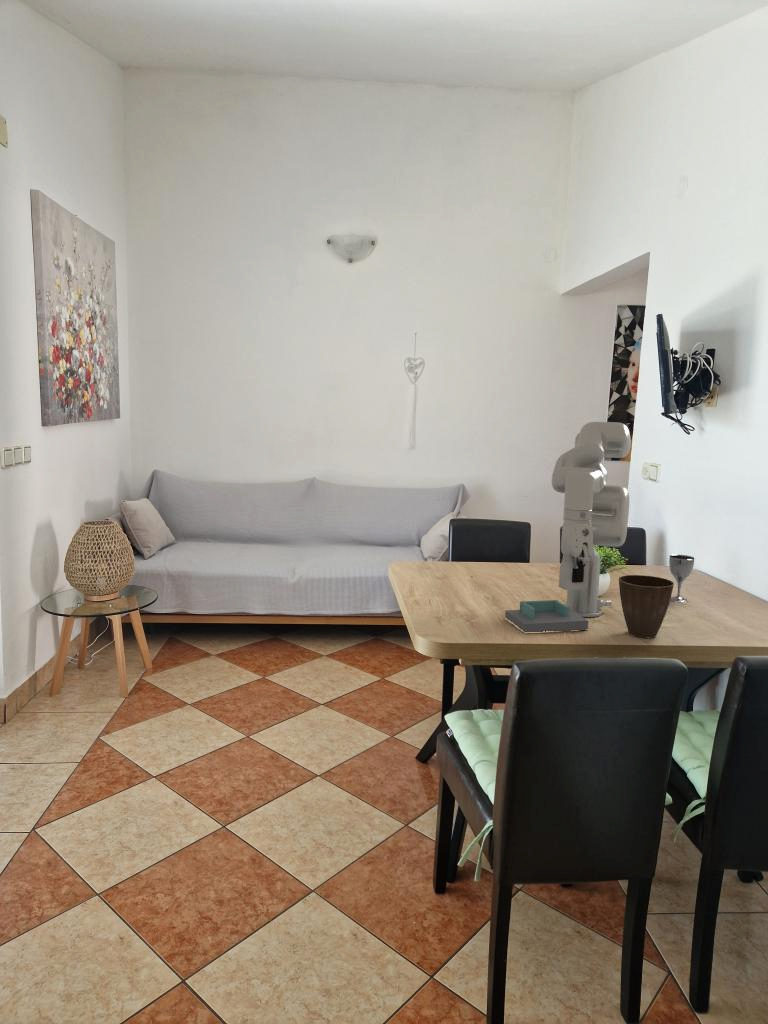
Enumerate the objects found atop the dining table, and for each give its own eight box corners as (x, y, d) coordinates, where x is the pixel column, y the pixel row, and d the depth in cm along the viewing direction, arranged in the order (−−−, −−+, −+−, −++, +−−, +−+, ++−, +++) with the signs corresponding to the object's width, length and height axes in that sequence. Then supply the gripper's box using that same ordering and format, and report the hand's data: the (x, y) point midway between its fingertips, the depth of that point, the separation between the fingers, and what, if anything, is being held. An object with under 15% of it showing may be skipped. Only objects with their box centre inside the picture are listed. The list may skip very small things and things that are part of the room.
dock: (564, 616, 226) (565, 598, 225) (587, 630, 213) (589, 610, 212) (505, 619, 221) (505, 600, 220) (524, 634, 208) (525, 613, 207)
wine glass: (664, 600, 249) (668, 557, 247) (667, 595, 256) (670, 553, 254) (689, 603, 246) (693, 560, 243) (691, 598, 253) (695, 556, 250)
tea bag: (587, 588, 202) (589, 553, 201) (565, 590, 200) (567, 554, 199) (579, 585, 206) (582, 550, 204) (558, 586, 204) (560, 551, 202)
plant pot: (605, 633, 210) (609, 579, 208) (629, 623, 221) (633, 572, 219) (655, 646, 200) (659, 589, 198) (678, 635, 210) (682, 581, 208)
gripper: (606, 520, 193) (601, 587, 196) (574, 510, 209) (570, 572, 212) (580, 520, 191) (576, 588, 194) (551, 511, 207) (547, 573, 210)
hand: (573, 579), depth 203 cm, fingers closed on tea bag, 3 cm apart
